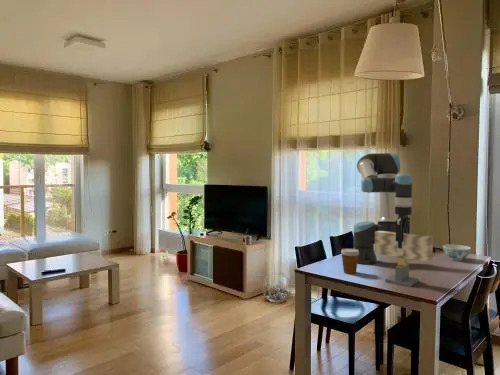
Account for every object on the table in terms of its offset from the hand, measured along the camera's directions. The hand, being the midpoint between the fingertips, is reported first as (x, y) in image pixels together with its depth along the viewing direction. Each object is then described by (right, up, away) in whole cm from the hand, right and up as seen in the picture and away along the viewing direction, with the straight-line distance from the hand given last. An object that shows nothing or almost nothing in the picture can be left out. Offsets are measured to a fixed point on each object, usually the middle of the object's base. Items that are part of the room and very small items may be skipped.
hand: (402, 253), depth 189 cm
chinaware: (+50, -11, +46) cm, 69 cm away
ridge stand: (0, -14, +1) cm, 14 cm away
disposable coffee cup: (-21, -13, +17) cm, 30 cm away
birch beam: (0, -1, 0) cm, 1 cm away
